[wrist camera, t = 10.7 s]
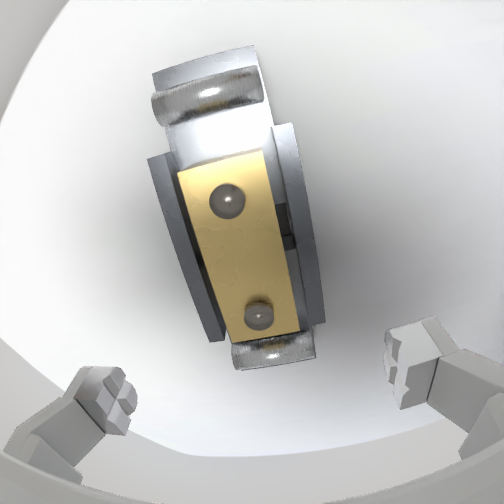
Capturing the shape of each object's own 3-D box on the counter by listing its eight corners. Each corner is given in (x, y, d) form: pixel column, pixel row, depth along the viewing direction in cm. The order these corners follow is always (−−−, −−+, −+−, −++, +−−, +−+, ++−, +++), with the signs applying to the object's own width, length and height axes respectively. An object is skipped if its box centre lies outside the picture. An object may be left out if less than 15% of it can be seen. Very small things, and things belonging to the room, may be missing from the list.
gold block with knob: (260, 146, 16) (262, 152, 12) (293, 298, 20) (301, 337, 16) (192, 163, 16) (173, 175, 13) (236, 309, 20) (231, 349, 16)
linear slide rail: (266, 53, 16) (269, 32, 12) (320, 336, 24) (330, 373, 20) (153, 83, 17) (126, 73, 12) (233, 351, 25) (230, 390, 21)
